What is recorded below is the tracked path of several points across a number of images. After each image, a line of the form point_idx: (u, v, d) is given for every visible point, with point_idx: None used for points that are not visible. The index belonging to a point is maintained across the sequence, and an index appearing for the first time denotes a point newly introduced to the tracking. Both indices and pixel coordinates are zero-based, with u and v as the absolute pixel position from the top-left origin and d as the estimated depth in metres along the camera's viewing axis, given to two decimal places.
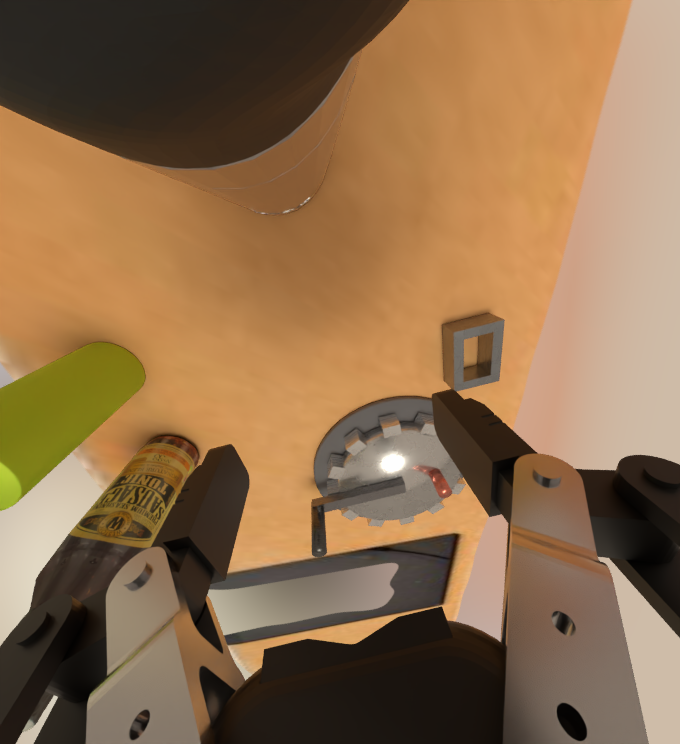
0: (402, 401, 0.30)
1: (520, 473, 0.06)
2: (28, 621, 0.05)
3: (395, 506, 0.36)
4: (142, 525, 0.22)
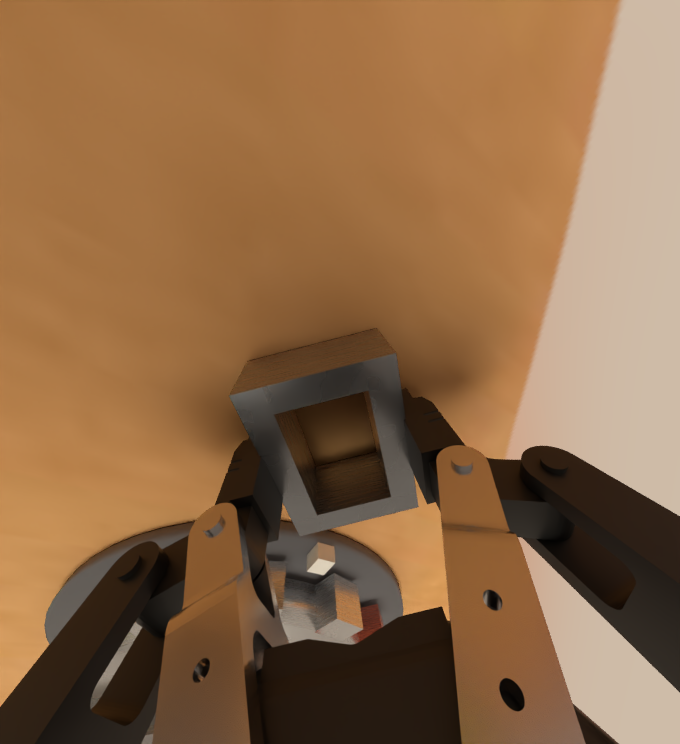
0: None
1: (440, 462, 0.07)
2: (125, 559, 0.06)
3: None
4: None
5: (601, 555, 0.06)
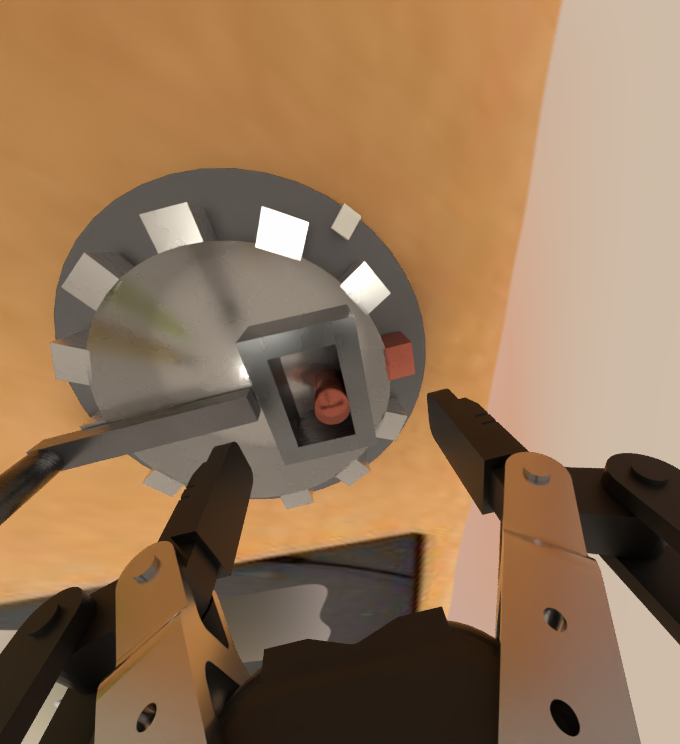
0: (218, 171, 0.12)
1: (511, 471, 0.06)
2: (39, 613, 0.05)
3: (261, 465, 0.17)
4: None
5: None
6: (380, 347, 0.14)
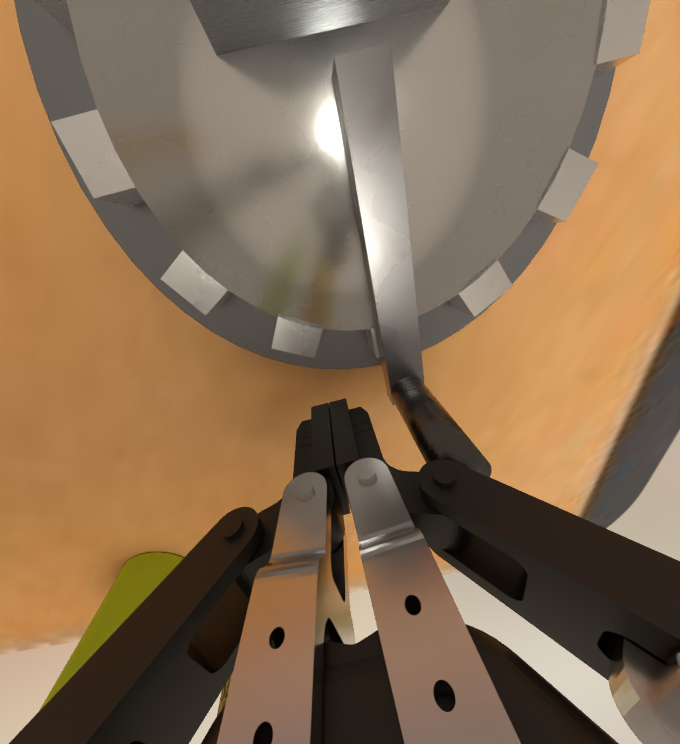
0: (51, 117, 0.09)
1: (347, 474, 0.07)
2: (231, 520, 0.06)
3: (505, 97, 0.09)
4: None
5: (496, 547, 0.06)
6: None
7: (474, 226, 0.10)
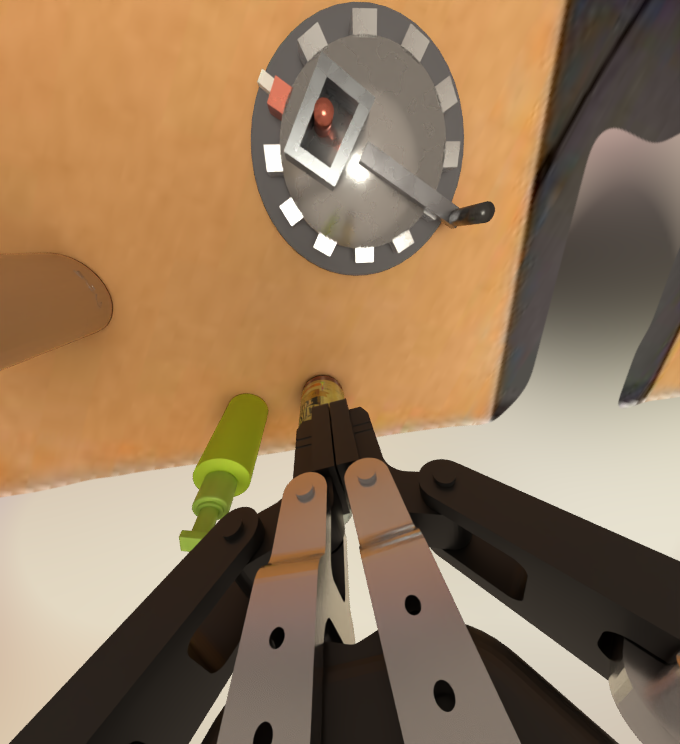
0: (253, 164, 0.26)
1: (348, 474, 0.07)
2: (230, 520, 0.06)
3: (402, 105, 0.24)
4: None
5: (496, 547, 0.06)
6: (285, 117, 0.23)
7: (427, 143, 0.25)
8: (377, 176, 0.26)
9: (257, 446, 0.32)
